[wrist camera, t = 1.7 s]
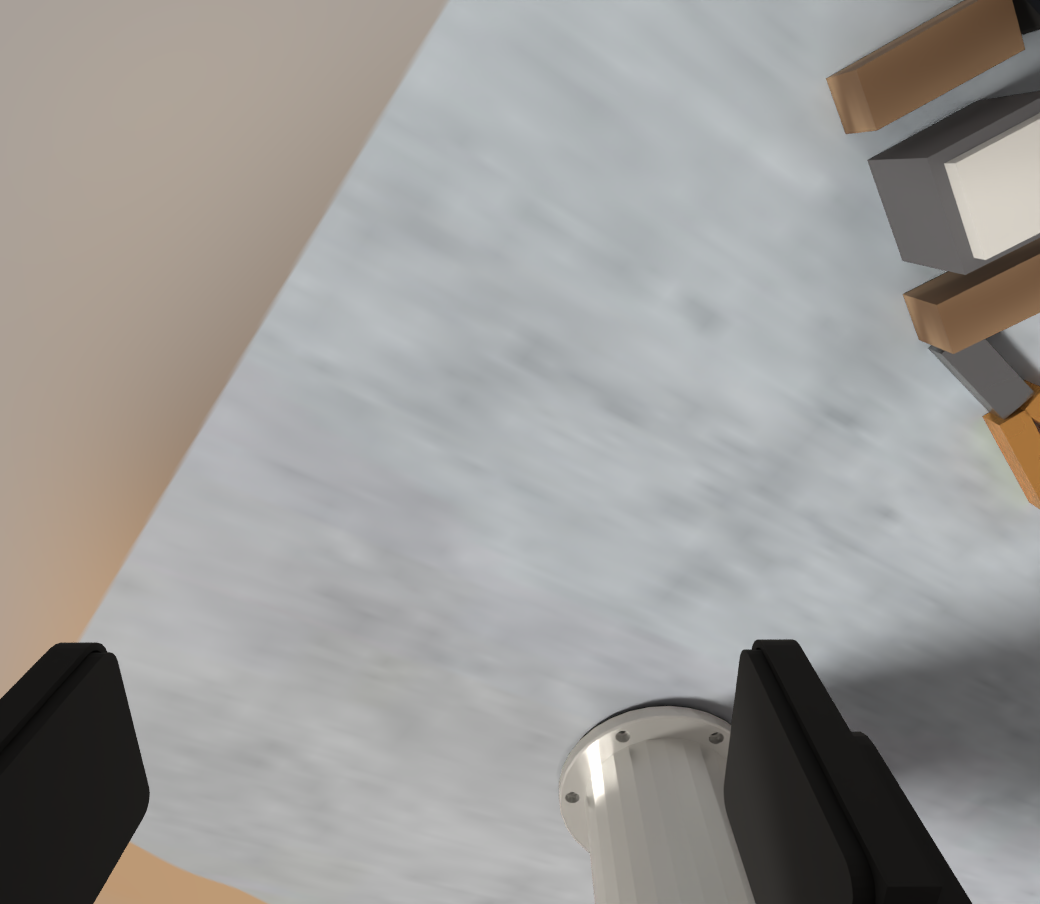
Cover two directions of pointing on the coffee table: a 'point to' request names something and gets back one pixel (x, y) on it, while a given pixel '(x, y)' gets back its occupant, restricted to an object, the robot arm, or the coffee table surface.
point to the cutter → (1003, 408)
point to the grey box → (965, 185)
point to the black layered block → (1027, 15)
